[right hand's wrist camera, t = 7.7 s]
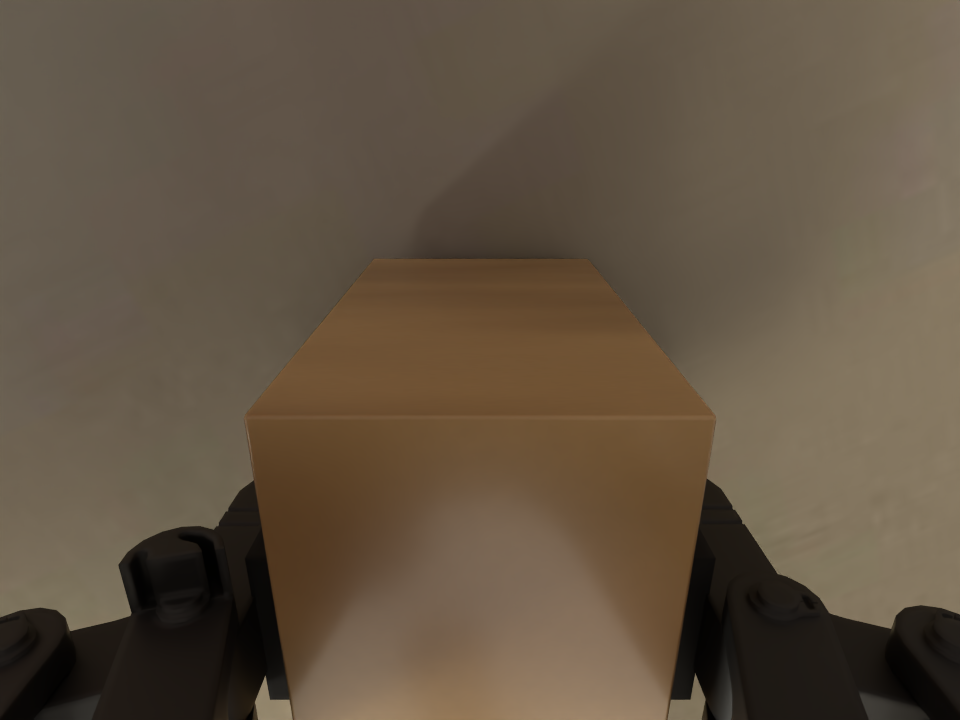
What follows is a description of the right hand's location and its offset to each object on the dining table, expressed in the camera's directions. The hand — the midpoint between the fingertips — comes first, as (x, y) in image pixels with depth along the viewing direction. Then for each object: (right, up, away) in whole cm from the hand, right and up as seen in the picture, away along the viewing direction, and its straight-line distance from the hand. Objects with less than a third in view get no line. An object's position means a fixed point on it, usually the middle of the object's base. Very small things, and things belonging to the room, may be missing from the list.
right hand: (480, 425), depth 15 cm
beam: (0, -21, +9) cm, 23 cm away
